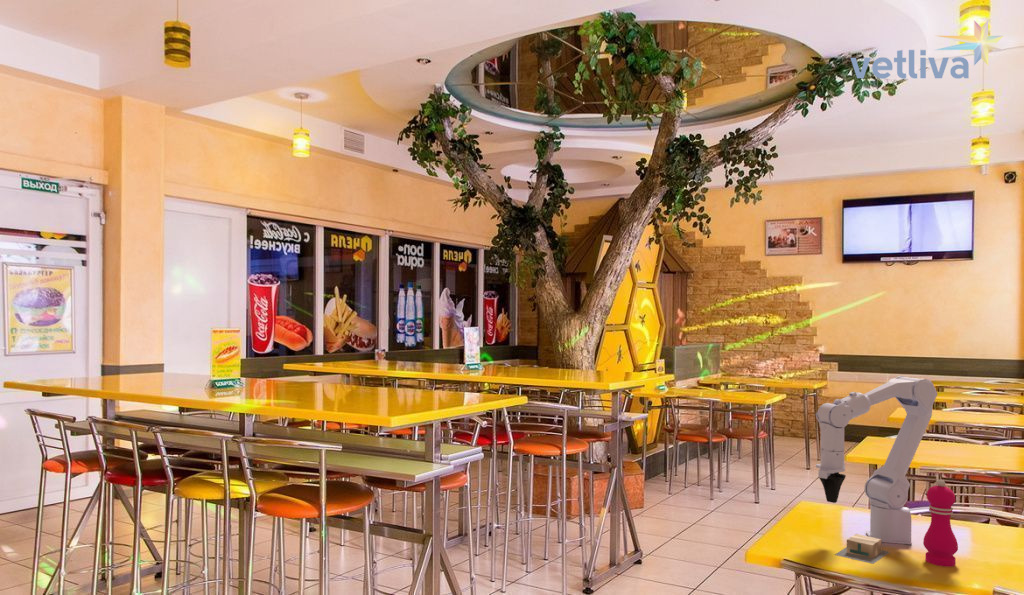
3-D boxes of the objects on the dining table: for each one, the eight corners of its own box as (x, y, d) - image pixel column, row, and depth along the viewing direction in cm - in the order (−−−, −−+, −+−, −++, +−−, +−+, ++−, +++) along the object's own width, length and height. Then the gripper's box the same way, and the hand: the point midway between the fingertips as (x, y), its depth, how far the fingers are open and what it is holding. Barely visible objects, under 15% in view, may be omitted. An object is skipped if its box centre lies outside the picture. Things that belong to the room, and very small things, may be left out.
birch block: (872, 545, 177) (881, 539, 183) (846, 539, 182) (856, 533, 187) (872, 558, 177) (881, 552, 182) (846, 552, 182) (856, 546, 187)
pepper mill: (957, 570, 171) (958, 484, 171) (922, 564, 175) (923, 480, 175) (958, 561, 177) (958, 478, 177) (923, 555, 181) (924, 474, 181)
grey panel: (852, 544, 189) (852, 543, 189) (890, 552, 183) (890, 551, 183) (834, 555, 180) (834, 554, 180) (873, 564, 173) (873, 563, 173)
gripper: (826, 444, 200) (825, 494, 199) (806, 451, 189) (806, 503, 188) (853, 447, 195) (853, 499, 195) (834, 455, 184) (834, 509, 184)
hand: (831, 501), depth 191 cm, fingers closed
